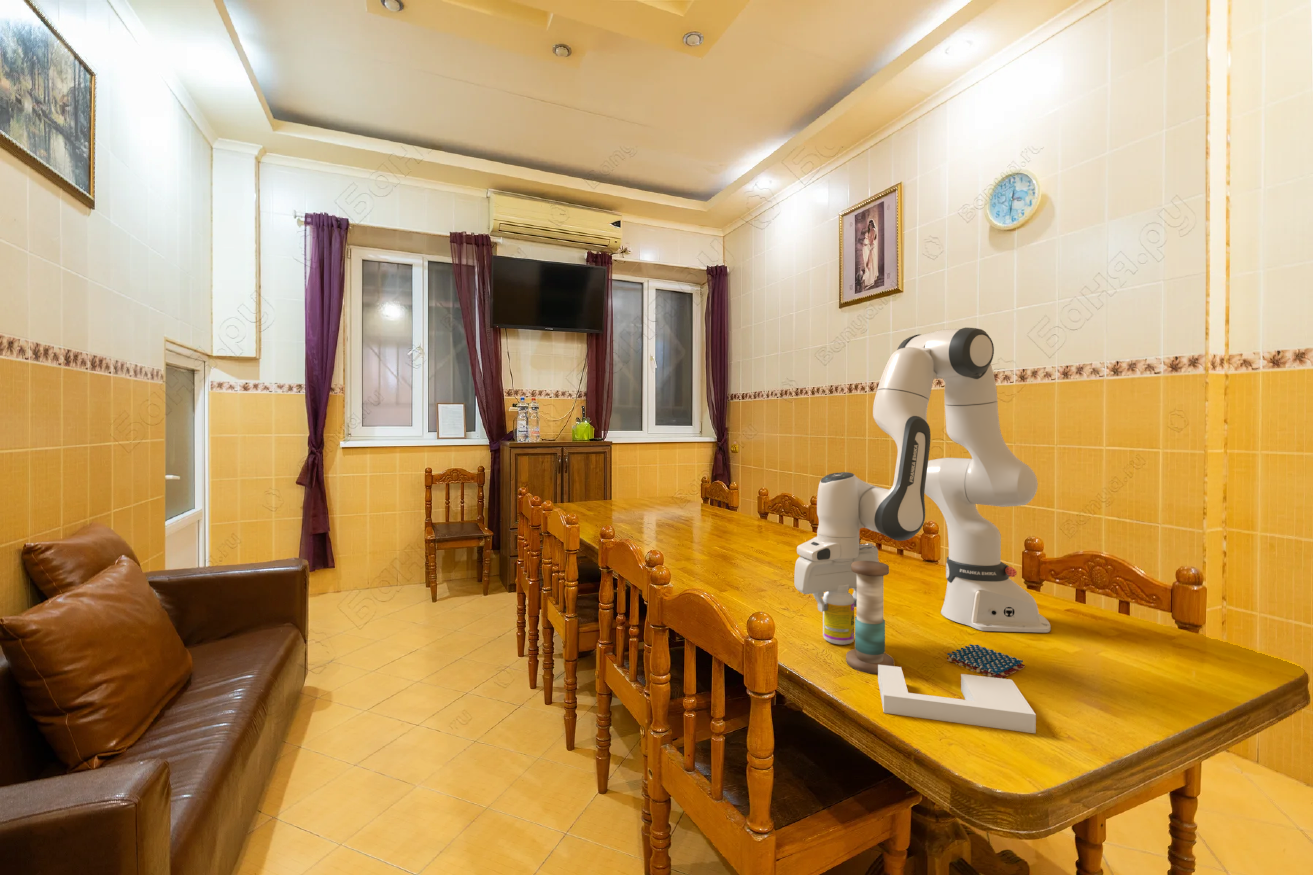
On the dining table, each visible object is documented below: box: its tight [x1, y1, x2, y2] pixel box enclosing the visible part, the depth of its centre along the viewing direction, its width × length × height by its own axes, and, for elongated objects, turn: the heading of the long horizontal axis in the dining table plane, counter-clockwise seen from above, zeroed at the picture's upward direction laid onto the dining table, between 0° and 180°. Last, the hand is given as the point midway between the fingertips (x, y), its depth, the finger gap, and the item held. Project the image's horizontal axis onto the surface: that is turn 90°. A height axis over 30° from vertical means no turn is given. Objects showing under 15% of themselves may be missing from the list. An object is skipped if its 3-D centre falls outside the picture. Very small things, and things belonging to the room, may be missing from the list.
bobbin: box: [845, 561, 895, 675], centre depth 111 cm, size 9×9×20 cm
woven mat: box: [946, 643, 1026, 679], centre depth 111 cm, size 10×11×2 cm
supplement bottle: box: [822, 584, 855, 646], centre depth 123 cm, size 7×7×13 cm
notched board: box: [877, 665, 1037, 734], centre depth 96 cm, size 22×12×3 cm, turn 73°
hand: (838, 608), depth 123 cm, fingers closed on supplement bottle, 7 cm apart
